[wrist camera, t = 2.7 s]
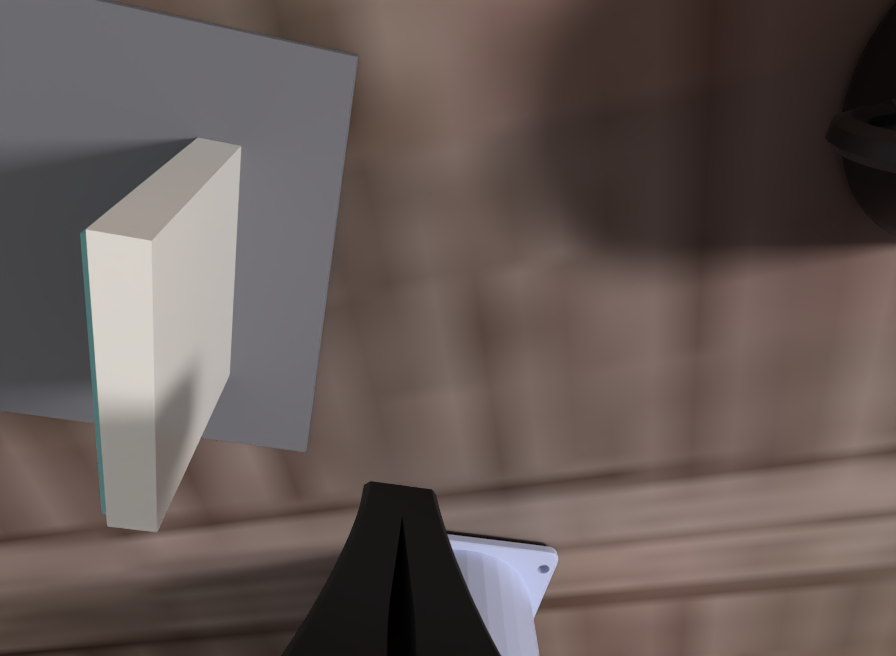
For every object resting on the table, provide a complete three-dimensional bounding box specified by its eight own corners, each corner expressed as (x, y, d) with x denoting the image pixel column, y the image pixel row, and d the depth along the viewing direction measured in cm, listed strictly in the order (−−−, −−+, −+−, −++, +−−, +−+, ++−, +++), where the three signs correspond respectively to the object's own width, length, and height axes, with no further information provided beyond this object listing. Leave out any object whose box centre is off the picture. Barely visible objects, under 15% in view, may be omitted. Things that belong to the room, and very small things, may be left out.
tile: (229, 374, 22) (157, 532, 16) (187, 368, 22) (99, 525, 16) (241, 146, 18) (151, 240, 12) (190, 136, 18) (74, 227, 12)
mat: (307, 445, 24) (305, 452, 24) (-64, 394, 23) (-72, 400, 22) (358, 54, 18) (357, 57, 17) (-166, -60, 16) (-179, -60, 16)
